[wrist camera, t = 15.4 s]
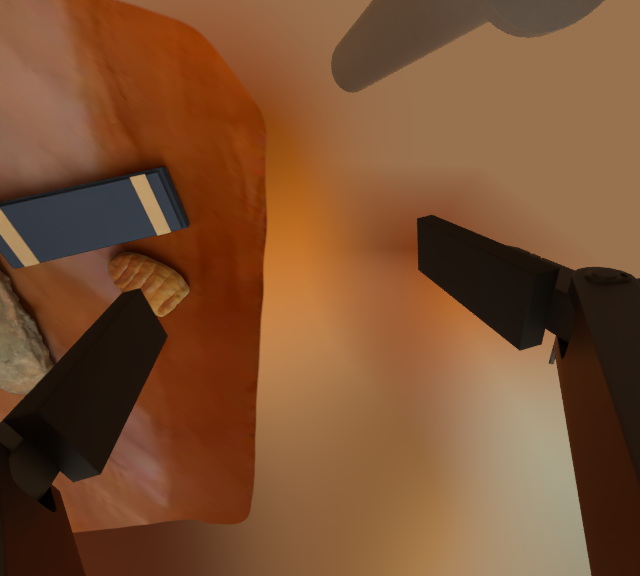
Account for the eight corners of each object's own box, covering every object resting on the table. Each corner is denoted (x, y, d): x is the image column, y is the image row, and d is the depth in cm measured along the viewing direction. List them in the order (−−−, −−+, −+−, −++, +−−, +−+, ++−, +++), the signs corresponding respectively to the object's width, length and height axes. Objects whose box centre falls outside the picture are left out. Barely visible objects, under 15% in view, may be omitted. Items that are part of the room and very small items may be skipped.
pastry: (101, 272, 37) (86, 284, 33) (134, 236, 36) (122, 246, 32) (166, 313, 41) (158, 328, 38) (197, 283, 40) (191, 295, 37)
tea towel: (165, 166, 33) (159, 167, 31) (190, 224, 36) (185, 229, 34) (-17, 205, 31) (-39, 210, 29) (26, 263, 35) (9, 271, 32)
